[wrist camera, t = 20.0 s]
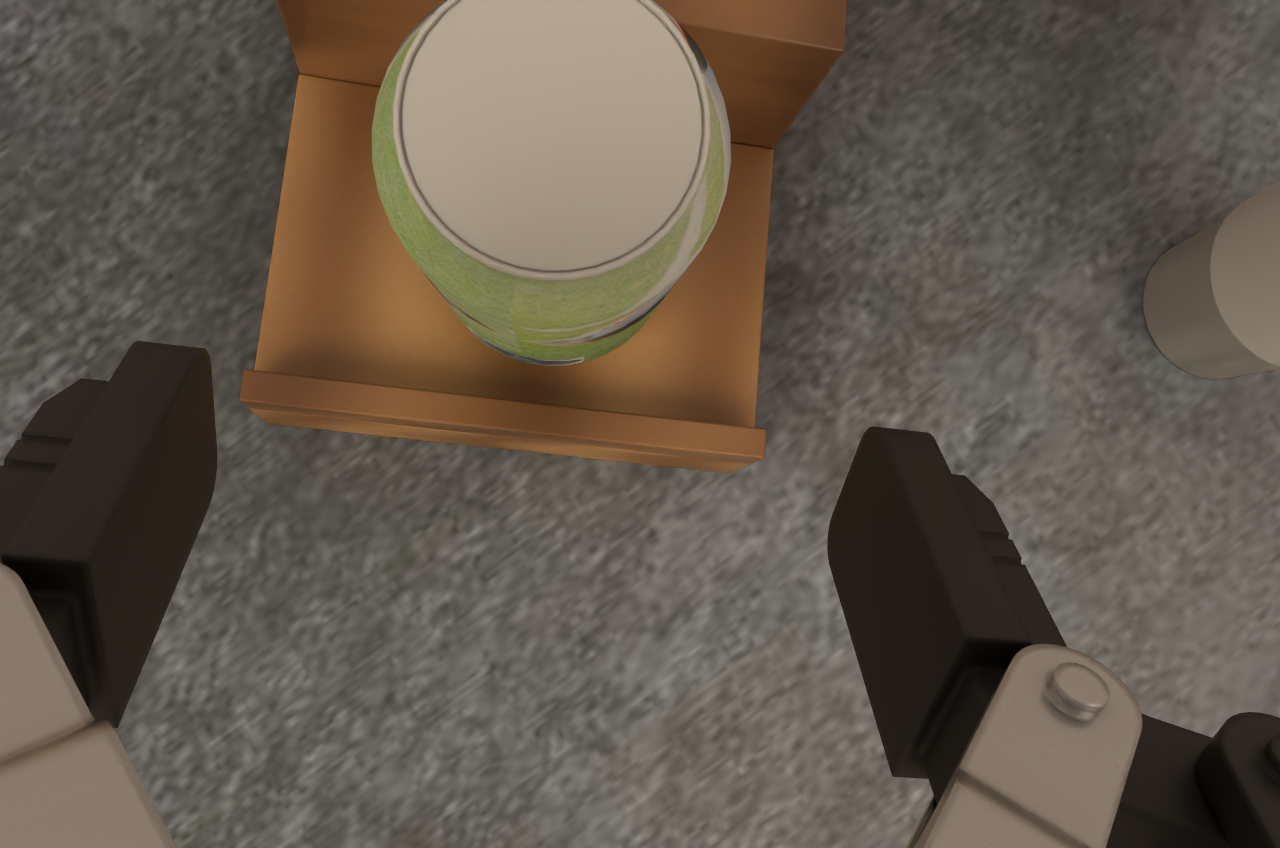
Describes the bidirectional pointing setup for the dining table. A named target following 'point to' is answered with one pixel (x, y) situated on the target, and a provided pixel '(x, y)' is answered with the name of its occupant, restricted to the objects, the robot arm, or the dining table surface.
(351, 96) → the wooden step stand
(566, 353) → the beverage can
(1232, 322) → the cup
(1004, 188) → the dining table surface
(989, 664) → the robot arm
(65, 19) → the dining table surface
